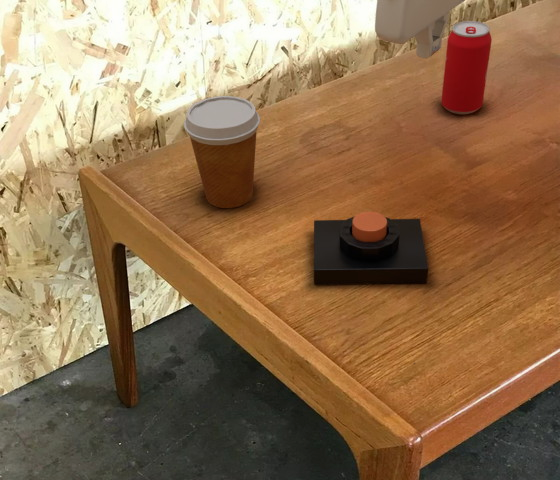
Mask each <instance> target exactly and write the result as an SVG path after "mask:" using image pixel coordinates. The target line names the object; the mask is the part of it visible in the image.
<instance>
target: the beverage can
mask: <svg viewBox="0 0 560 480" xmlns="http://www.w3.org/2000/svg"><path fill="white" fill-rule="evenodd" d="M491 48H492V35H491V32H490V26H489V25H488V24H486V23H485V22H481V21H478V20H477V21H476V20H465V21H460V22H457V23H455V24H454V25H453V26H452V30H451V31H450V33H449V34H448V37H447V43H446V52H445V53H446V54H445V60H444V72H443V81H442V91H441V102H440V103H441V105H442V106H443V108H444V109H446V110H447V111H448V112H450V113H451V114H456V115H468V114H472V113H474V112H476V111H479V109H481V108H482V106H483V104H484V97H485V91H486V90H485V89H486V84H487V76H488V70H489V69H488V68H489V61H490V55H491Z"/></svg>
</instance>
